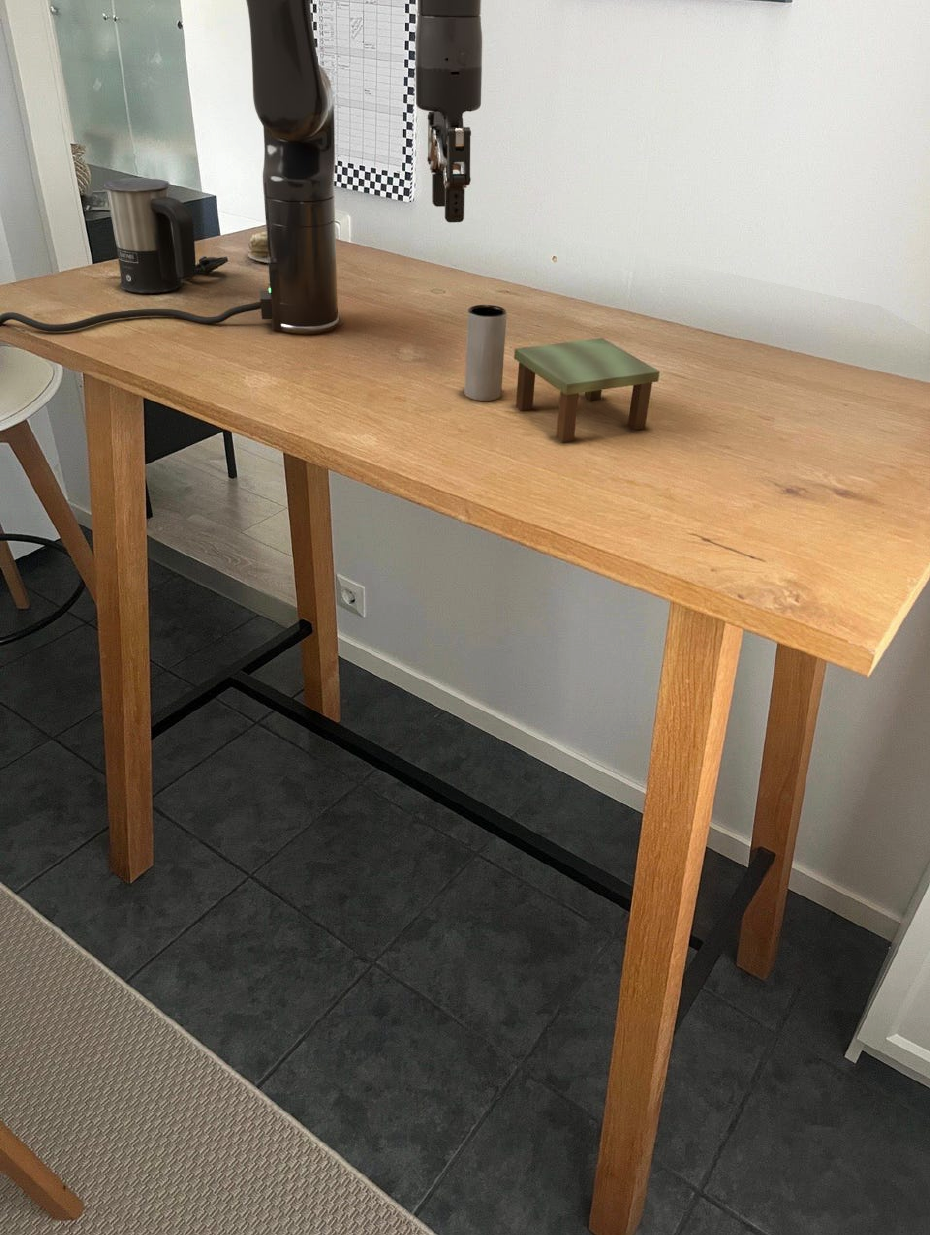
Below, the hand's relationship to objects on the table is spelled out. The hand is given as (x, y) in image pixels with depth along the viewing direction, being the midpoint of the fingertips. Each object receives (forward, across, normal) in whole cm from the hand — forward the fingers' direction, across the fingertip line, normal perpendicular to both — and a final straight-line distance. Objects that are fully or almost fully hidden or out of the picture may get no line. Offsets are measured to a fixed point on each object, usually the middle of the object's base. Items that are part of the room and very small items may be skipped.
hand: (447, 213), depth 120 cm
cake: (+18, -51, -20) cm, 58 cm away
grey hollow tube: (+18, +13, +2) cm, 23 cm away
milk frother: (+17, -38, -36) cm, 55 cm away
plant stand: (+18, +21, +12) cm, 31 cm away
